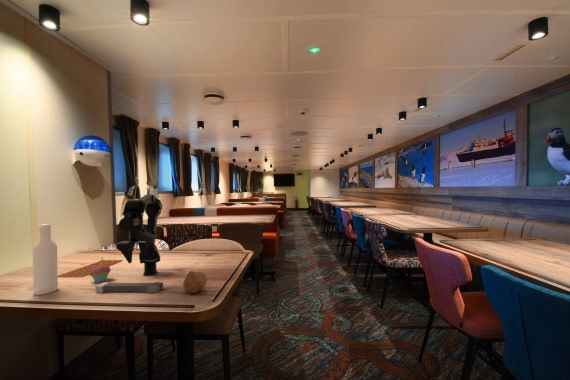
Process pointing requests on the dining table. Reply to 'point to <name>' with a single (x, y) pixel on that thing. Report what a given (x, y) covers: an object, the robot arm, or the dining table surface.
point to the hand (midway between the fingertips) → (136, 259)
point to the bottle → (45, 262)
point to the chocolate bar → (88, 269)
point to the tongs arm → (143, 283)
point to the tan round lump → (194, 282)
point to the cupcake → (100, 272)
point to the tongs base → (127, 288)
